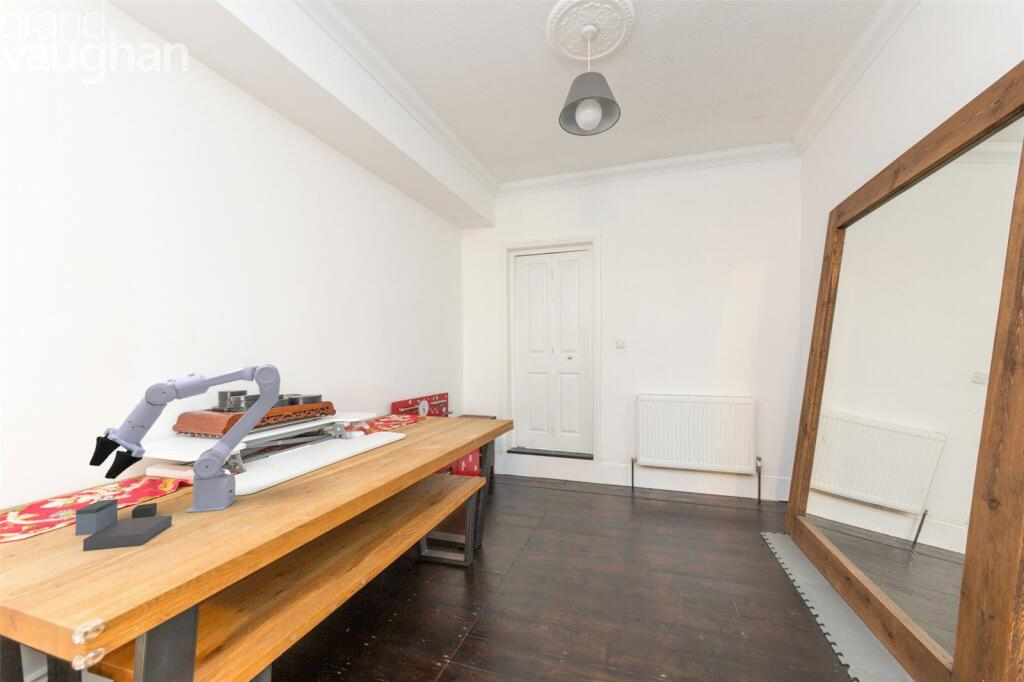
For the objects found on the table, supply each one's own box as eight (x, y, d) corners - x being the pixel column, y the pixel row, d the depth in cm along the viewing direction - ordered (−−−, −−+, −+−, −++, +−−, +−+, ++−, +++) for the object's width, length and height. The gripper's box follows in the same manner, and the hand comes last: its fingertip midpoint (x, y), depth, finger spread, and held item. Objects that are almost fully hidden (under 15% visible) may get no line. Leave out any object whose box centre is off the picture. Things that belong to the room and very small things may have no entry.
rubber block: (156, 513, 109) (156, 502, 109) (151, 518, 106) (151, 507, 106) (137, 516, 107) (137, 505, 108) (131, 521, 104) (131, 510, 104)
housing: (117, 522, 103) (117, 499, 104) (95, 533, 97) (96, 508, 97) (98, 523, 103) (99, 500, 103) (75, 535, 96) (76, 510, 96)
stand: (171, 525, 101) (171, 515, 101) (141, 545, 90) (141, 533, 90) (120, 529, 99) (120, 519, 99) (83, 550, 88) (83, 539, 88)
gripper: (107, 409, 106) (69, 457, 102) (138, 431, 101) (99, 482, 97) (135, 415, 112) (100, 461, 108) (165, 436, 107) (129, 485, 103)
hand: (101, 471), depth 103 cm, fingers open, 7 cm apart
